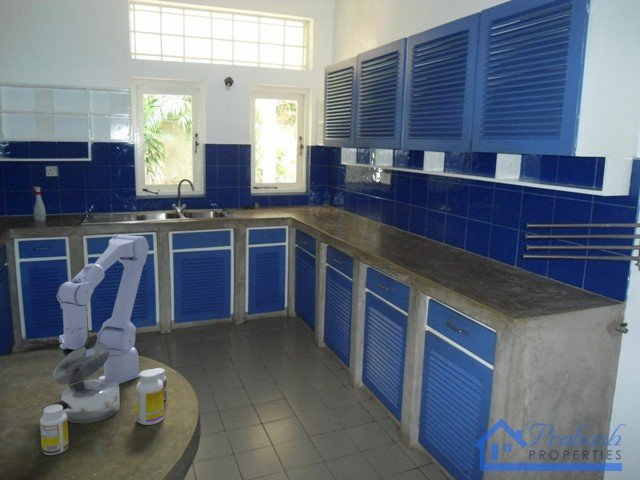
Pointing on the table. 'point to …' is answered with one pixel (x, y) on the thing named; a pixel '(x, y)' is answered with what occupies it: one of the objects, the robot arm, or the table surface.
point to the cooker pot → (90, 400)
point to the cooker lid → (81, 362)
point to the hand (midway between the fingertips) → (77, 373)
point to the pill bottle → (163, 379)
